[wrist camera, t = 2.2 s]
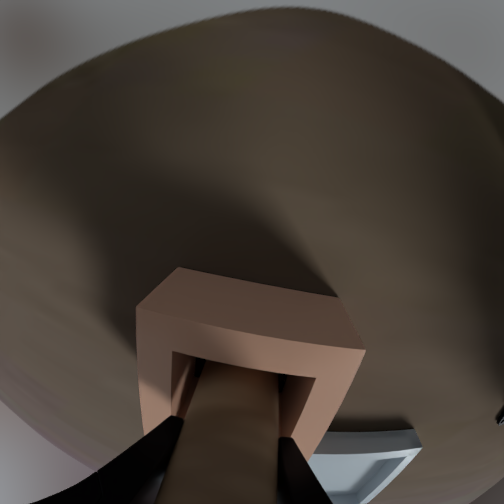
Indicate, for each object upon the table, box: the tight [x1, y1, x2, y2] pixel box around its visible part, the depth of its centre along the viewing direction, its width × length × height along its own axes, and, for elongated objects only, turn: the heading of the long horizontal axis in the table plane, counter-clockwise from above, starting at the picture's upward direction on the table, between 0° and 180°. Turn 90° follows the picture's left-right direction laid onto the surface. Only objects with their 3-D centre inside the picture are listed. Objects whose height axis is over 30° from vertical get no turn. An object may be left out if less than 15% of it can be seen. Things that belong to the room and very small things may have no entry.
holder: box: [136, 267, 366, 462], centre depth 10 cm, size 7×7×4 cm
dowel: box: [154, 359, 279, 504], centre depth 7 cm, size 3×3×10 cm
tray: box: [307, 429, 423, 504], centre depth 14 cm, size 14×9×2 cm, turn 80°
